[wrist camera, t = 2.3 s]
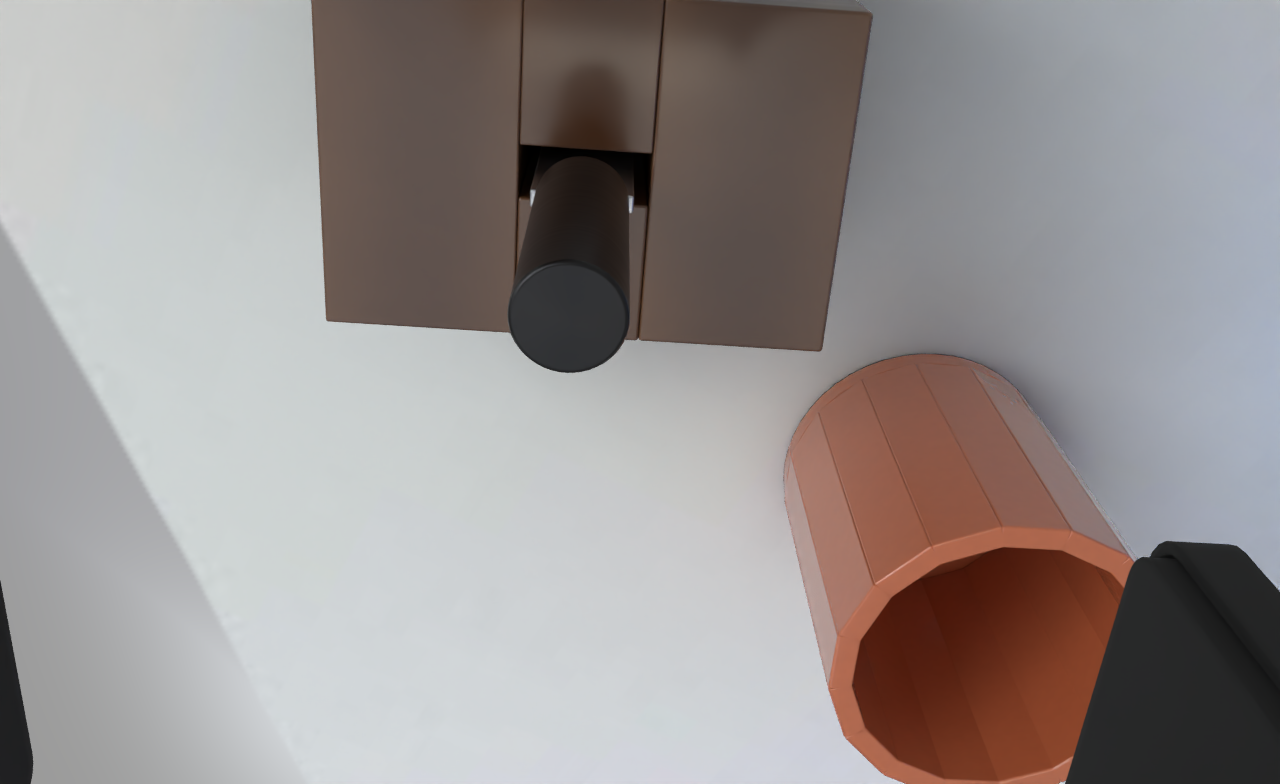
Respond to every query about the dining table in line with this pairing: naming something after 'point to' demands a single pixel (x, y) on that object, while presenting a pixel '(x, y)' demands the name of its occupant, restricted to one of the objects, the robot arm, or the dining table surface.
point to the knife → (575, 260)
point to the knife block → (596, 120)
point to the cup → (951, 572)
